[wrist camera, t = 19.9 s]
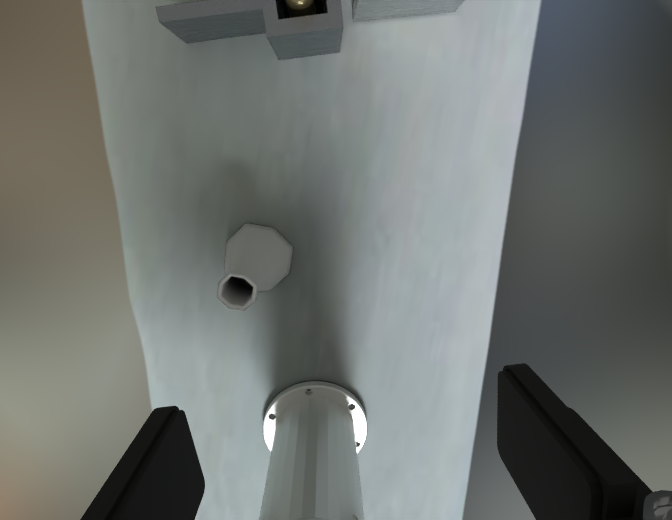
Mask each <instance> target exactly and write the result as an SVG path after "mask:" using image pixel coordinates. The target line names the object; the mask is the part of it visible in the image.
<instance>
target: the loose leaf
mask: <svg viewBox="0 0 672 520" xmlns="http://www.w3.org/2000/svg"><path fill="white" fill-rule="evenodd" d="M464 1H465V0H354V4H353V21H354V22H356V21H366V20H376V19H386V18H396V17H406V16H416V15H426V14H437V13H447V12H455V11H456V10H457V9H458V8H459V6H460V5H461V4H462V3H463V2H464Z"/></svg>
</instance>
